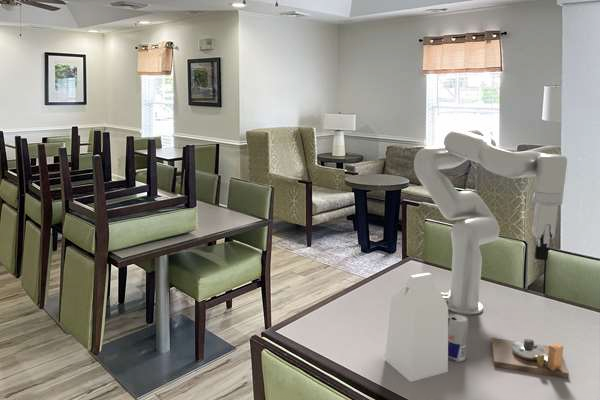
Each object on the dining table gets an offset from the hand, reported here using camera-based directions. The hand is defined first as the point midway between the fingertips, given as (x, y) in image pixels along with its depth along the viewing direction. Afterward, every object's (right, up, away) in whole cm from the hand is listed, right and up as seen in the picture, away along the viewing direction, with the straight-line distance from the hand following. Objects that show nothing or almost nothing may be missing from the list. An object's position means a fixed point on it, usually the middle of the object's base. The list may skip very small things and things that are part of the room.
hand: (540, 258), depth 142 cm
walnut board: (-7, -27, -7) cm, 29 cm away
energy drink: (-27, -27, -7) cm, 39 cm away
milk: (-39, -28, -11) cm, 49 cm away
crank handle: (-6, -26, -10) cm, 28 cm away
